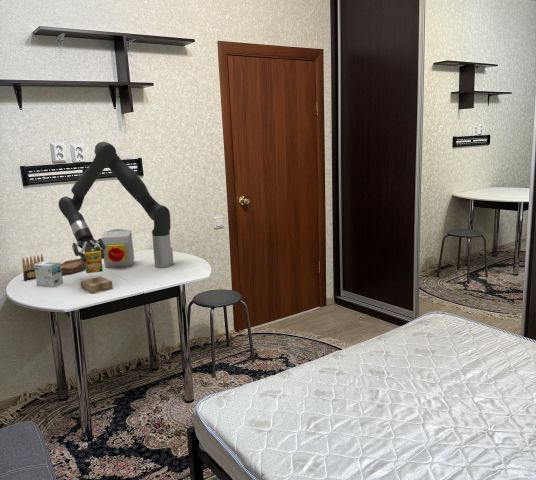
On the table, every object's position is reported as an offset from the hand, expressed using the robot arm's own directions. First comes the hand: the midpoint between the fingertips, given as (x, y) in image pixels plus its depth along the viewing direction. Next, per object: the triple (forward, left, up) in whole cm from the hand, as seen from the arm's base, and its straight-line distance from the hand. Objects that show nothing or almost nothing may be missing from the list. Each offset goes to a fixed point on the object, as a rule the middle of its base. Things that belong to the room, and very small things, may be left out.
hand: (94, 259), depth 231 cm
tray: (0, -1, -14) cm, 14 cm away
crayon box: (0, -1, -6) cm, 7 cm away
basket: (-3, -44, -15) cm, 47 cm away
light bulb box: (+13, -25, -15) cm, 32 cm away
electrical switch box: (-26, -30, -15) cm, 42 cm away
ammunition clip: (+14, -41, -15) cm, 46 cm away
